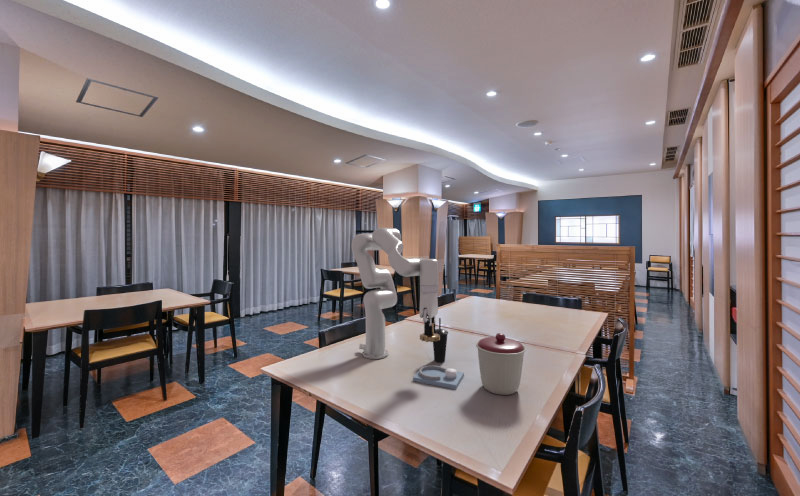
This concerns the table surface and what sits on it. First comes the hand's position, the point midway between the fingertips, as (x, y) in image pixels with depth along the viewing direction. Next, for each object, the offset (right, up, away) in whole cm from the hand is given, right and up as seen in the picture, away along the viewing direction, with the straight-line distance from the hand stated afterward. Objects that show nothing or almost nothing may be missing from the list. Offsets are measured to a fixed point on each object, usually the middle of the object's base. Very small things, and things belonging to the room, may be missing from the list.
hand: (429, 333), depth 133 cm
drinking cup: (+6, -18, +18) cm, 26 cm away
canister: (+26, -18, -10) cm, 33 cm away
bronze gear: (0, -2, 0) cm, 2 cm away
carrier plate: (+4, -18, -1) cm, 18 cm away
